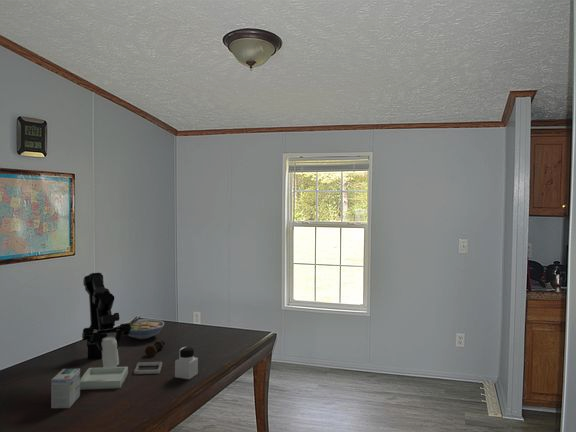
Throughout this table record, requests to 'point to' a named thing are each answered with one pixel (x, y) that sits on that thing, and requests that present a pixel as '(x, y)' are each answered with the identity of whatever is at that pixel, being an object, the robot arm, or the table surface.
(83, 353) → the table surface
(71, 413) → the table surface
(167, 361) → the table surface
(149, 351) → the bolt
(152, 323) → the ramen bowl
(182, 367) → the medicine bottle
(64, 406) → the light bulb box
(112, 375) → the tray
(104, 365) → the beverage can
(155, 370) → the grey square frame
